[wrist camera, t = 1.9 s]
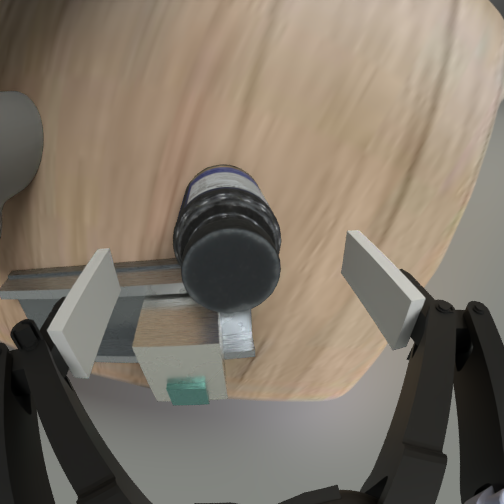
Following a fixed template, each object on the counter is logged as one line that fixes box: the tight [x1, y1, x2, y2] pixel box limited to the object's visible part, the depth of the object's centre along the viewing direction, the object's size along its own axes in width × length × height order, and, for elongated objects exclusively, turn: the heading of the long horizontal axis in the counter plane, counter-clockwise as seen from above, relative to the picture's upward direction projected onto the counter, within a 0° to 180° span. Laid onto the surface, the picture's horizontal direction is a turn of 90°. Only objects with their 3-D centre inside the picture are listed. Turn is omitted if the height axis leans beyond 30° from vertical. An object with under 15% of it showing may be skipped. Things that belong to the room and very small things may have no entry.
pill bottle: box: [173, 165, 281, 313], centre depth 18 cm, size 6×6×11 cm
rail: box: [0, 258, 255, 405], centre depth 22 cm, size 10×26×10 cm, turn 91°
